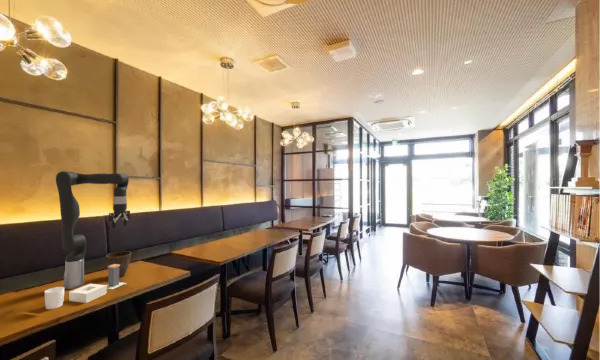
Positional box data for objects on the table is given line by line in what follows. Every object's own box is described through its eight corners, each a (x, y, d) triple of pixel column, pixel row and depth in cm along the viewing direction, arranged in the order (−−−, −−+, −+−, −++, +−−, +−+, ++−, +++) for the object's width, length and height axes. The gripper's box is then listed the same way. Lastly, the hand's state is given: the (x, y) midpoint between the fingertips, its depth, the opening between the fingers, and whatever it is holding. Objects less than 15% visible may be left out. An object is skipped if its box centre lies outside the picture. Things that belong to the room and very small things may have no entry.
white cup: (41, 312, 133) (41, 293, 133) (48, 306, 140) (48, 287, 140) (60, 309, 136) (60, 291, 136) (66, 303, 144) (67, 285, 144)
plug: (107, 286, 164) (107, 266, 164) (114, 283, 169) (114, 263, 169) (113, 286, 164) (113, 266, 164) (119, 284, 168) (120, 264, 168)
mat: (99, 289, 162) (99, 287, 162) (114, 283, 172) (114, 281, 172) (112, 290, 160) (112, 289, 160) (126, 284, 170) (126, 282, 170)
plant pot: (108, 274, 188) (109, 252, 188) (132, 271, 194) (132, 250, 194) (103, 281, 175) (103, 258, 175) (128, 278, 181) (129, 255, 181)
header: (69, 302, 145) (69, 291, 145) (90, 293, 156) (90, 283, 156) (86, 304, 142) (86, 293, 142) (106, 295, 154) (106, 285, 154)
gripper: (124, 202, 179) (124, 225, 179) (105, 203, 165) (105, 228, 165) (133, 202, 178) (133, 225, 178) (115, 204, 164) (114, 229, 164)
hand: (119, 227), depth 171 cm, fingers open, 8 cm apart
